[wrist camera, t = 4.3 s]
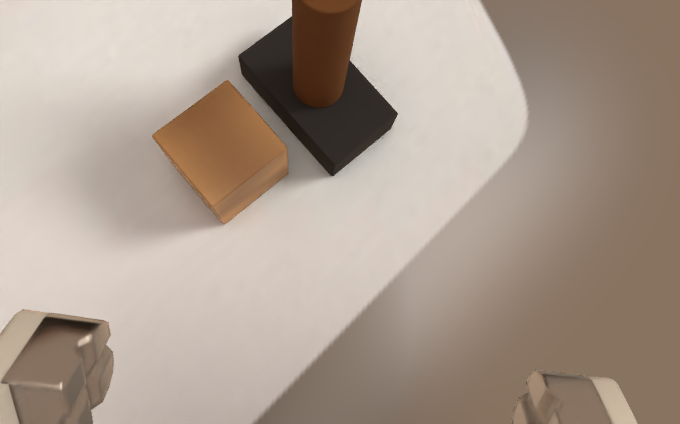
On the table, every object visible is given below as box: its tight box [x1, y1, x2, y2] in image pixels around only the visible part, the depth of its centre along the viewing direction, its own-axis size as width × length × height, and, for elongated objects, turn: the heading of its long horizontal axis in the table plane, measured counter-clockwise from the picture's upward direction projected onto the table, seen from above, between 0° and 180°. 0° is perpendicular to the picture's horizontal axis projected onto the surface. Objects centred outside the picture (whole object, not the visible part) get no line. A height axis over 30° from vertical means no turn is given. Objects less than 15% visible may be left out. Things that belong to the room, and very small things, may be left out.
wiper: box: [238, 0, 398, 176], centre depth 23 cm, size 4×7×10 cm, turn 41°
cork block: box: [152, 80, 288, 224], centre depth 25 cm, size 4×4×4 cm
